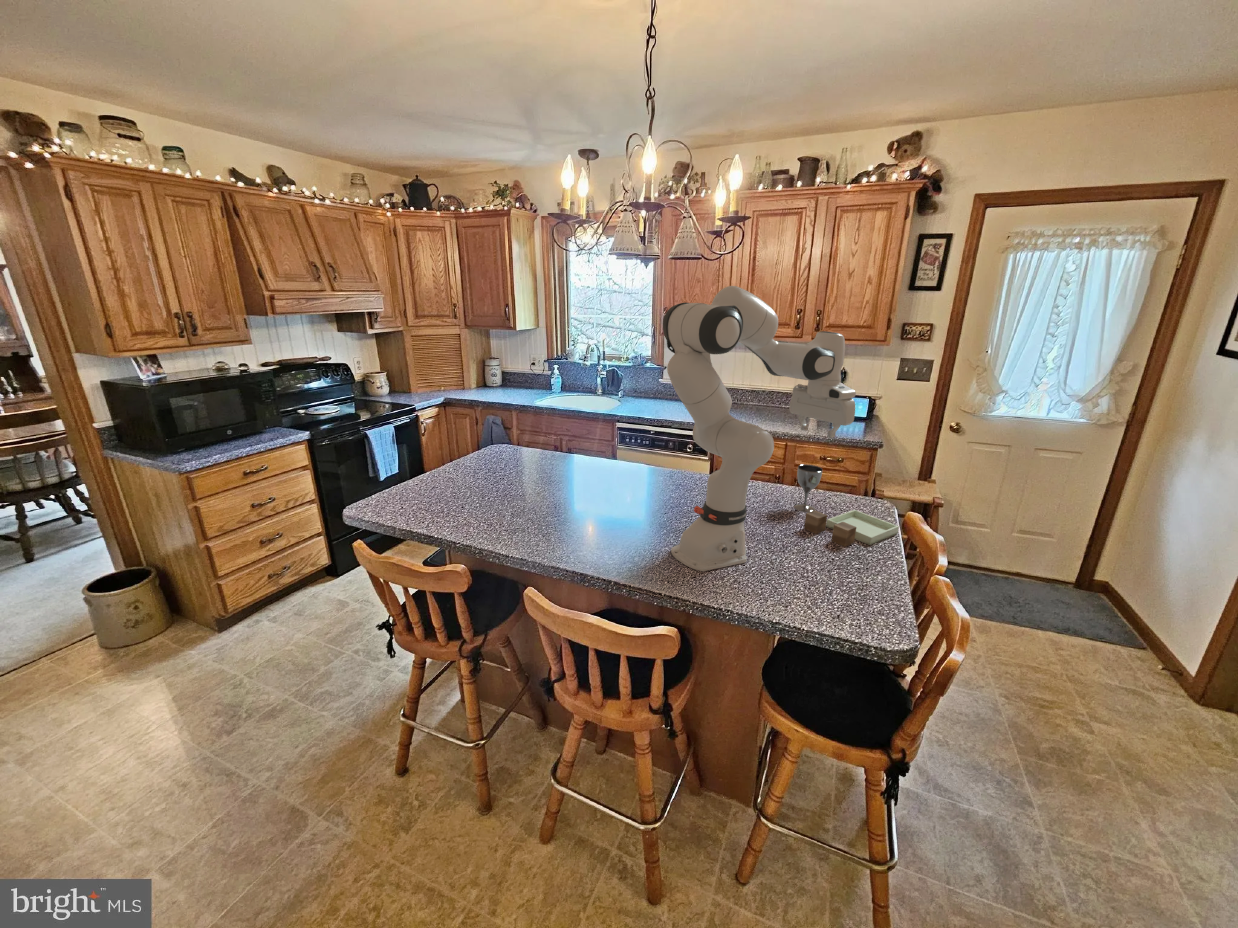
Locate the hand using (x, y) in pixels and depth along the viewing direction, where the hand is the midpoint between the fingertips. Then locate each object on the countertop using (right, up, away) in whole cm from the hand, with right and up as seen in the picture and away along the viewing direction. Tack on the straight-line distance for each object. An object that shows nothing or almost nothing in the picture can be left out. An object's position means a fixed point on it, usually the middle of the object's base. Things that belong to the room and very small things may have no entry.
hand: (817, 433), depth 150 cm
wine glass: (+6, -25, +25) cm, 36 cm away
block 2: (+8, -33, +1) cm, 34 cm away
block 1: (+2, -30, +9) cm, 32 cm away
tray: (+18, -30, +9) cm, 36 cm away
